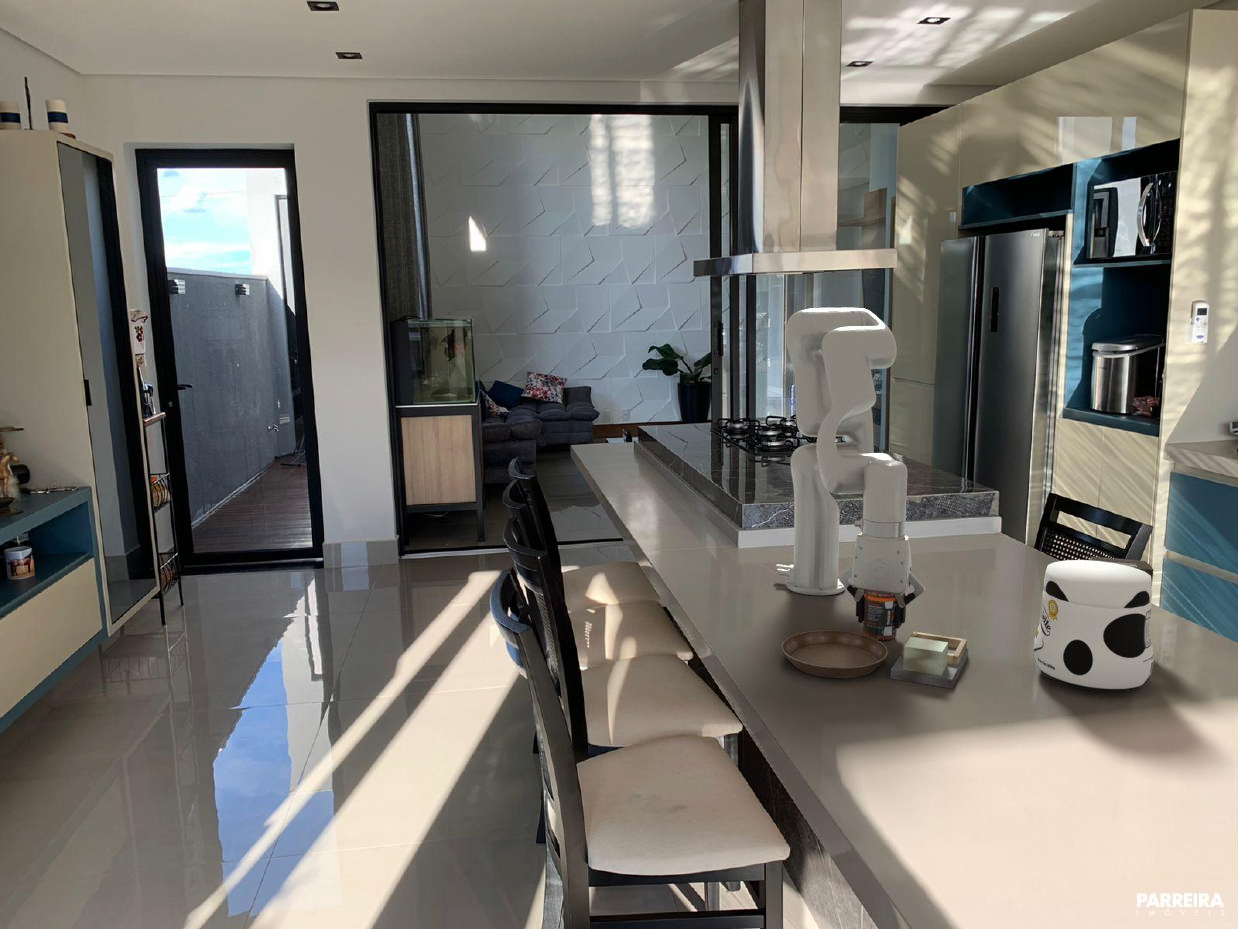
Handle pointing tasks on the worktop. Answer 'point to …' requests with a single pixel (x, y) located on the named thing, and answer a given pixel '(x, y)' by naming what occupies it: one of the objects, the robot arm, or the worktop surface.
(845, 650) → the plant saucer
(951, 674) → the base
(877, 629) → the supplement bottle
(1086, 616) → the milk container
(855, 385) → the robot arm
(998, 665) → the worktop surface
